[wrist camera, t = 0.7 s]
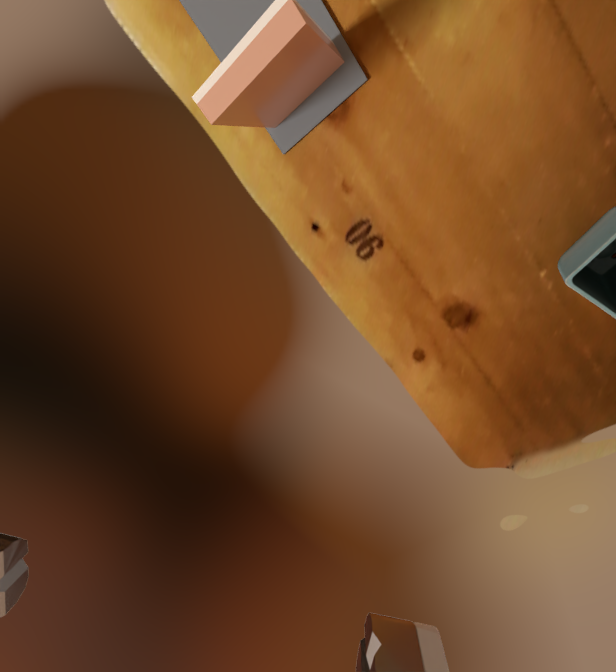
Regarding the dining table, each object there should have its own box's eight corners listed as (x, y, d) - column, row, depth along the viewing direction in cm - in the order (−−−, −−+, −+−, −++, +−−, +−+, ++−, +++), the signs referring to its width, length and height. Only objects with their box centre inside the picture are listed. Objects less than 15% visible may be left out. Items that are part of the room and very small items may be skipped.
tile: (344, 62, 39) (305, 23, 26) (275, 128, 44) (211, 124, 30) (331, 39, 39) (284, -12, 25) (262, 109, 43) (191, 97, 30)
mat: (367, 79, 40) (367, 79, 40) (284, 154, 46) (283, 154, 45) (237, -144, 35) (235, -147, 34) (161, -29, 40) (158, -30, 40)
